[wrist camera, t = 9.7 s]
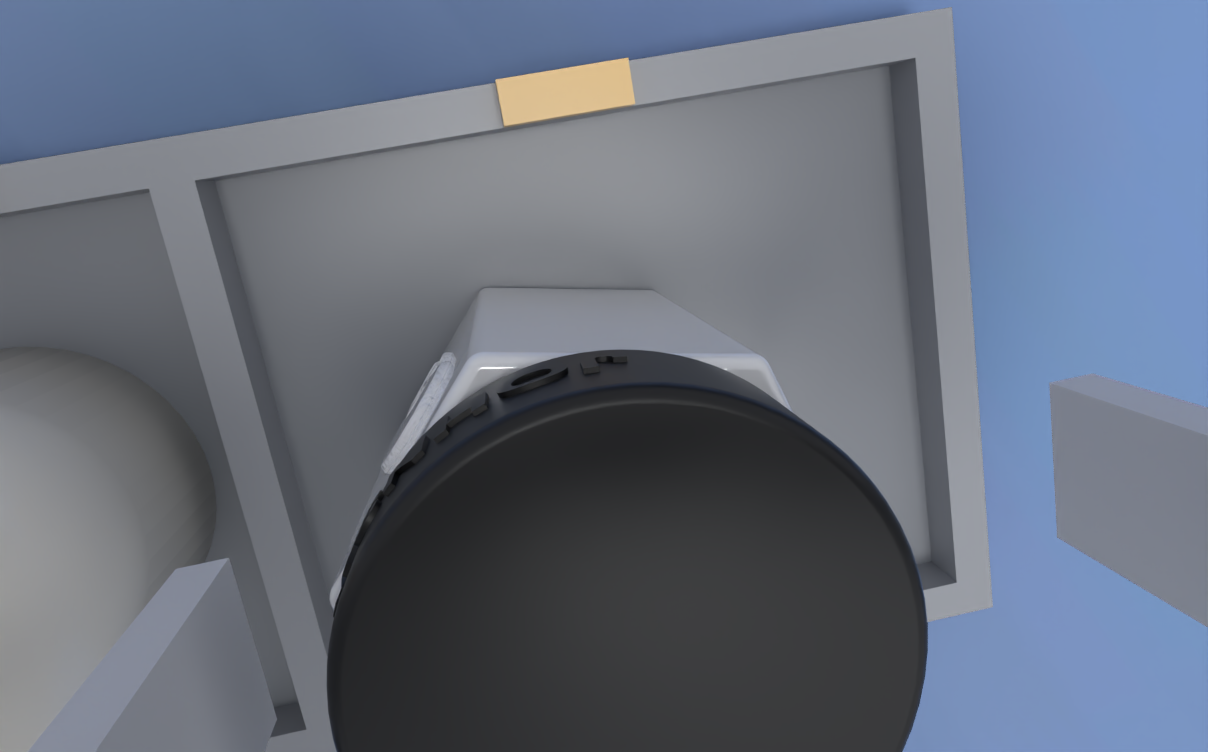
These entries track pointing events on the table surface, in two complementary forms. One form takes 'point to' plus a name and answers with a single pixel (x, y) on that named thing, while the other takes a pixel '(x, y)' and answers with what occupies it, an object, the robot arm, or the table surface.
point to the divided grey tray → (524, 280)
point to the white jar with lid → (85, 521)
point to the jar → (619, 552)
